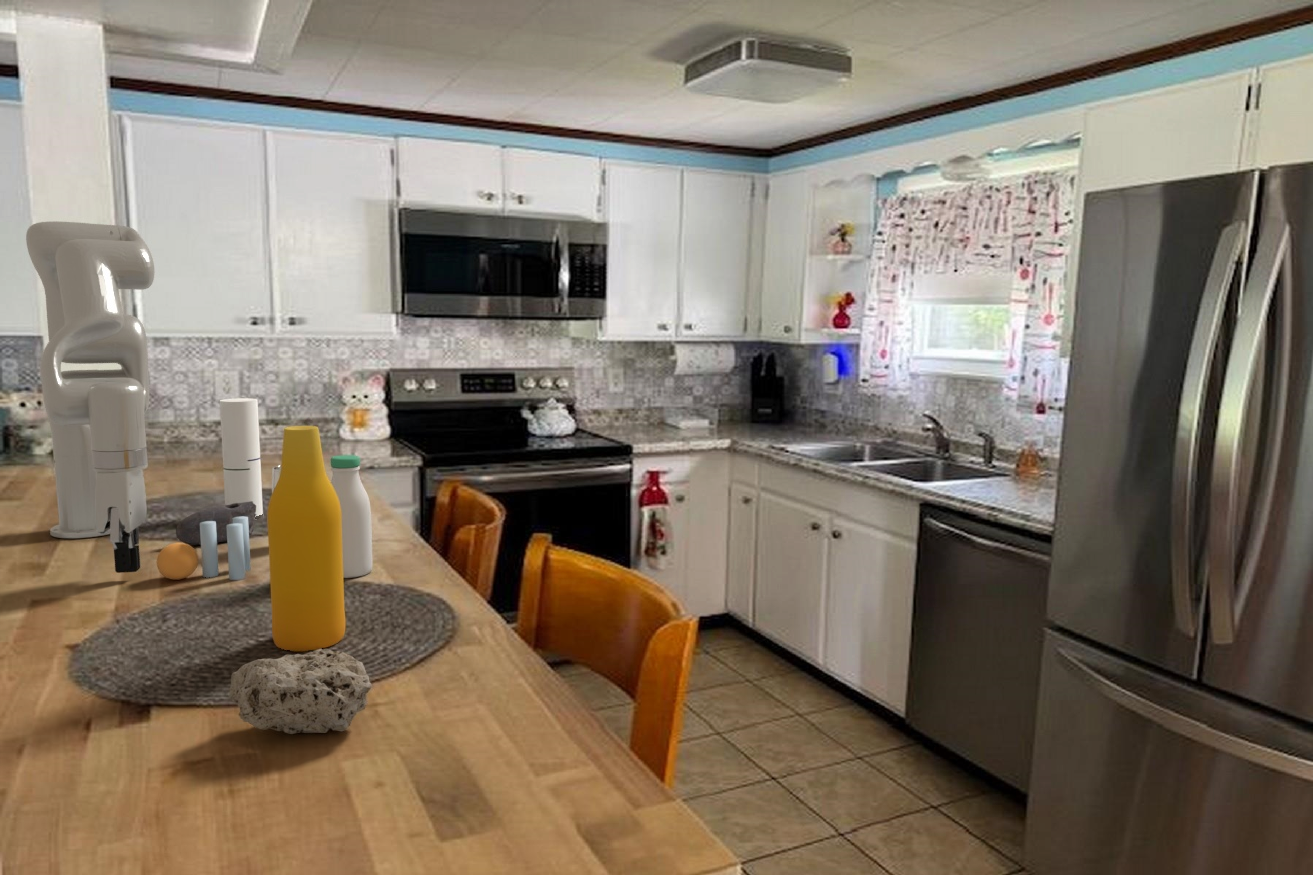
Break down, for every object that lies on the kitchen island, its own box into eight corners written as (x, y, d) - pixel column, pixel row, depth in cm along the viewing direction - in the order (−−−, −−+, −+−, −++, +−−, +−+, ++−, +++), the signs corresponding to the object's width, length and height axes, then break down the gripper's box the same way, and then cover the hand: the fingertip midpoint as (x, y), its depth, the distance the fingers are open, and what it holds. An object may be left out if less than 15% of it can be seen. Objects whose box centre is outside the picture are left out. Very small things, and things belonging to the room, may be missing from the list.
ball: (205, 540, 147) (204, 574, 148) (167, 537, 147) (166, 572, 148) (188, 549, 141) (187, 585, 142) (149, 546, 141) (149, 582, 142)
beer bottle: (272, 632, 122) (262, 424, 118) (343, 624, 126) (336, 422, 122) (272, 656, 114) (262, 433, 110) (348, 647, 117) (341, 431, 113)
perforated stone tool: (180, 551, 161) (178, 514, 160) (172, 545, 165) (170, 509, 164) (265, 538, 171) (263, 503, 170) (255, 532, 175) (253, 498, 174)
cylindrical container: (270, 516, 189) (264, 399, 185) (238, 522, 183) (232, 402, 179) (250, 511, 192) (244, 397, 189) (218, 517, 187) (212, 400, 183)
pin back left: (230, 576, 147) (228, 523, 145) (246, 575, 147) (243, 522, 146) (227, 580, 144) (225, 527, 143) (243, 579, 145) (241, 526, 144)
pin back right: (236, 567, 152) (233, 516, 150) (251, 567, 152) (249, 516, 151) (233, 571, 149) (231, 519, 148) (249, 571, 150) (246, 519, 149)
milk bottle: (382, 569, 152) (379, 455, 149) (349, 581, 145) (345, 461, 142) (348, 563, 155) (344, 451, 152) (314, 575, 148) (309, 457, 145)
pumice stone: (229, 763, 87) (224, 686, 86) (233, 713, 98) (229, 644, 97) (376, 738, 93) (374, 666, 92) (364, 693, 104) (362, 628, 102)
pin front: (204, 573, 148) (201, 521, 147) (220, 572, 149) (217, 520, 147) (201, 577, 146) (198, 524, 144) (217, 577, 146) (214, 524, 145)
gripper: (109, 452, 147) (117, 559, 150) (76, 468, 133) (85, 586, 135) (159, 451, 149) (166, 557, 152) (132, 467, 135) (140, 583, 137)
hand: (128, 570), depth 144 cm, fingers closed
